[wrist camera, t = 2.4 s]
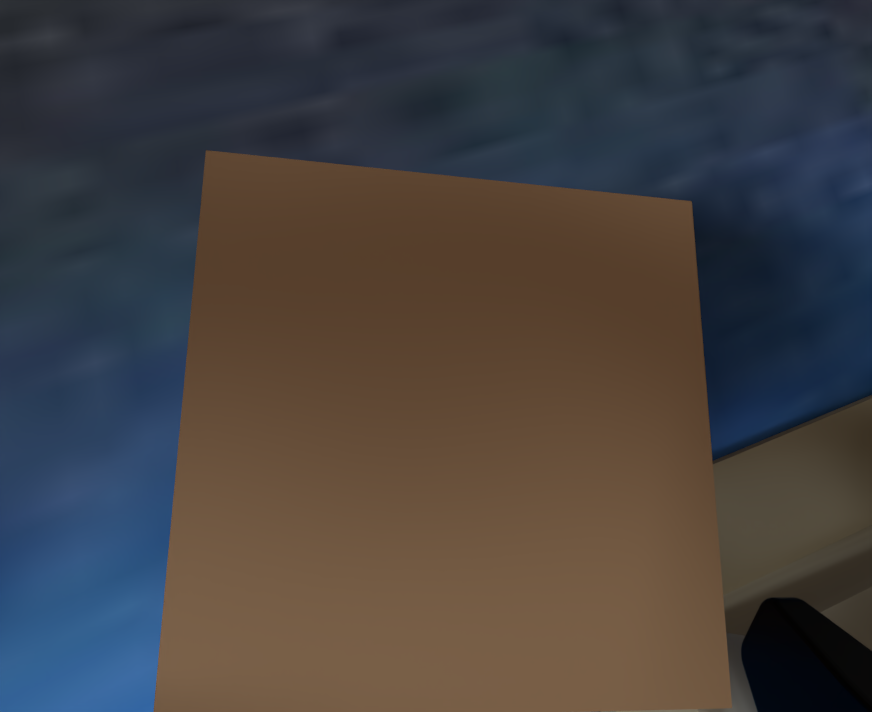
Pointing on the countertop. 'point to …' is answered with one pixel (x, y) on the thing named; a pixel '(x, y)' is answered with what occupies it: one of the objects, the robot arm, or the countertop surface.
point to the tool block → (796, 529)
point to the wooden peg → (441, 451)
